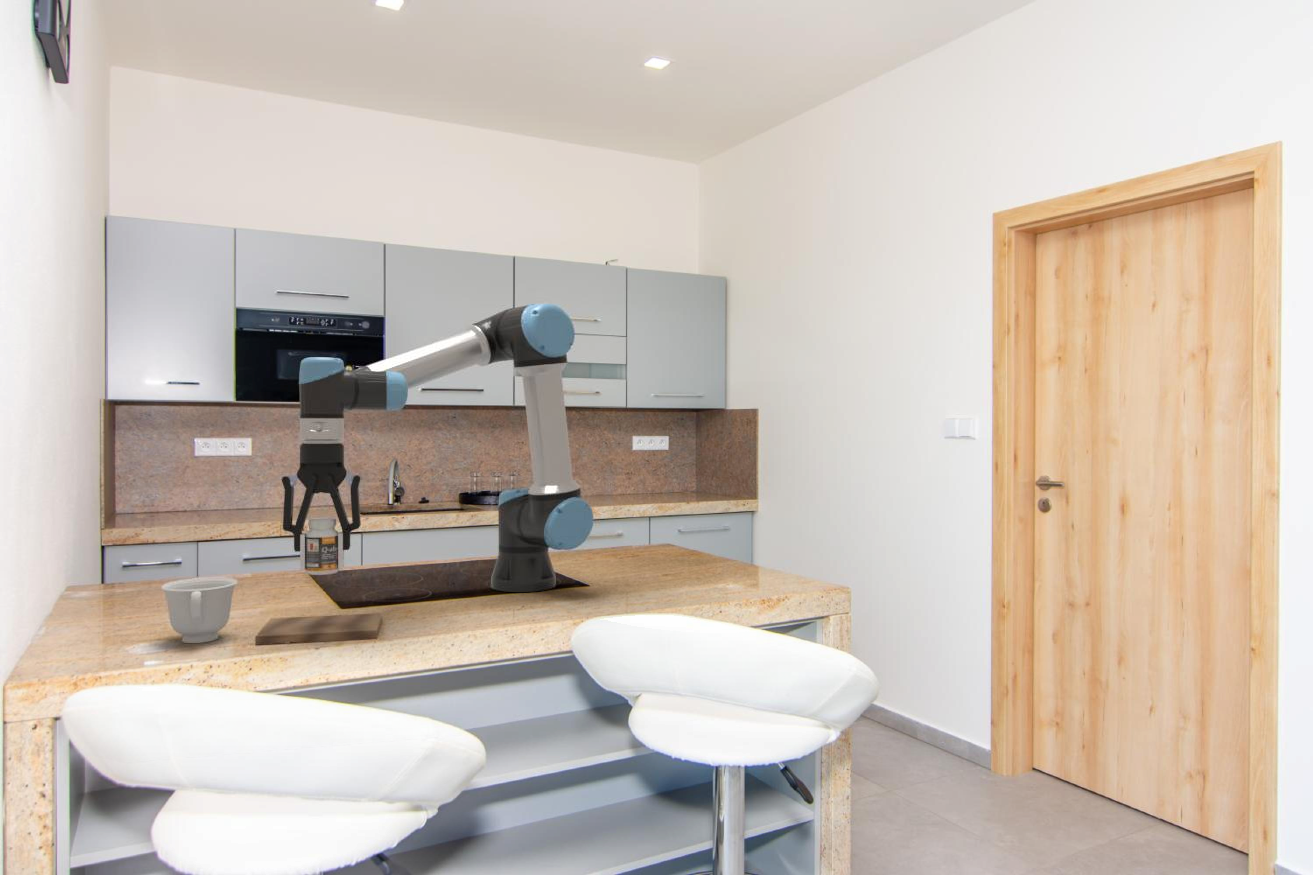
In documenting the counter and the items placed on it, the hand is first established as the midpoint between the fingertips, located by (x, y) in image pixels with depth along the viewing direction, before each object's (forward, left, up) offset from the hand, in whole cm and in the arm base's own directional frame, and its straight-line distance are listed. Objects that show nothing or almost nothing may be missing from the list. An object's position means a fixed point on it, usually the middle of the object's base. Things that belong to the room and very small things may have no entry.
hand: (322, 568), depth 157 cm
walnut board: (0, 0, -12) cm, 12 cm away
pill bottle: (0, 0, -1) cm, 1 cm away
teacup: (+20, +2, -12) cm, 23 cm away
